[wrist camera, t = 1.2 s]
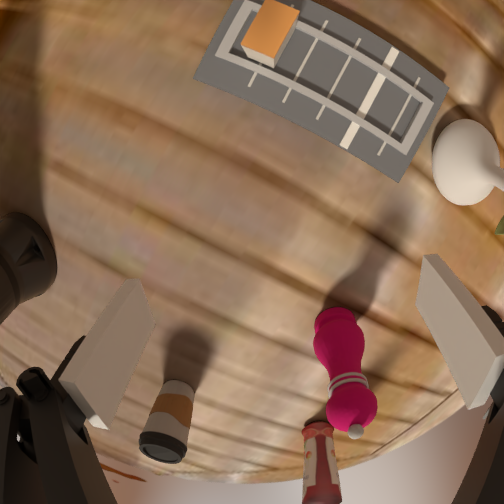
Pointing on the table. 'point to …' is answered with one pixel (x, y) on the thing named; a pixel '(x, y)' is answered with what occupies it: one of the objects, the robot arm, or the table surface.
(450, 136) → the flower in vase
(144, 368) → the table surface
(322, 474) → the liquor
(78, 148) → the table surface
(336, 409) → the pepper mill
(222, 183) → the table surface
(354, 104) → the panel
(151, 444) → the coffee cup
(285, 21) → the fader
